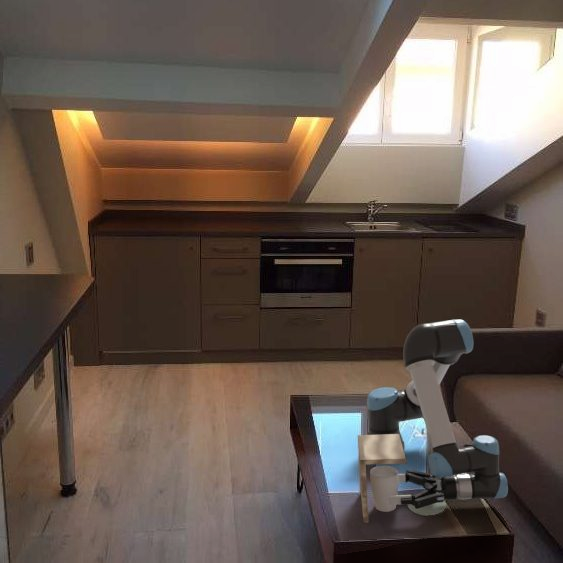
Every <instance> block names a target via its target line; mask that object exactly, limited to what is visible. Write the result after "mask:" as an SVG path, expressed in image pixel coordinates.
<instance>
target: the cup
mask: <svg viewBox="0 0 563 563" xmlns="http://www.w3.org/2000/svg"><path fill="white" fill-rule="evenodd" d="M369 474H370V476H369V478H370V479H369V483H370V487H371V493H372V496H373V502H374V506H375V509H376V510H377V511H380V512H385V513H389V512H392V511H394V510H395V509H396V508H397V505H390V502H389V495H399V494H398V493H399V484H400V483H399V477H398V474H399V471H398V469H397V468H396V467H394V466H391V465H388V464H380V465H377V466H374V467H372V468H371V469H370V471H369Z"/></svg>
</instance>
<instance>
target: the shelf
mask: <svg viewBox="0 0 563 563" xmlns="http://www.w3.org/2000/svg"><path fill="white" fill-rule="evenodd" d="M357 445H358V446H357V448H358V449H357V450H358V464H359V465H358V466H359V485H360V486H359V489H360V500H361V511H362V520H363V523H365V524H367V523H369V505H368V503H369V502H368V485H367V468H366V467H367V466H366V465H389V464H390V465H391V464H392V465H394V464H407V460H406V454H405V450H403V447H402V443H401V439H400V435H399V434H382V435H367V434H358V435H357Z"/></svg>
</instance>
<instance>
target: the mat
mask: <svg viewBox="0 0 563 563" xmlns="http://www.w3.org/2000/svg"><path fill="white" fill-rule="evenodd" d="M419 504H420V503H419ZM407 508H408V509H409V511H411V512H412V513H414V514H416V515H420V516H425V517H429V516H428V515H431V514H433V513H439V512H442V511H444V509H445V508H446V509H447V502H446V500H444V502H439V503H434V504H431V505H428V506H425V507H422V508H418V509H416V508H415V506H413V505H412V504H407ZM444 512H445V511H444Z"/></svg>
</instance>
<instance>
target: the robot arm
mask: <svg viewBox="0 0 563 563" xmlns="http://www.w3.org/2000/svg"><path fill="white" fill-rule="evenodd" d="M474 343H475V342H474V336H473V332H472V330H471V328H470V325H469V324H468V323H467V322H466V321H465V320H463V319H462V318H461V319H450V320H448V319H447V320H443V321H442V320H441V321H434V322H429V323H427V322H426V323H421V324H418V325H416V326H414V327H413V328H412V329H411V330H410V332H409V333H408V334H407V336H406V339H405V341H404V344H403V350H402V351H403V352H402V356H403V357H402V358H403V359H402V360H403V364H404V367H405V370H406V371H408V372H410V376H411V377H410V378H411V379H412V380H411V381H410V382H408V384H407V386H406V387H405V389H400V390H398V389H396V388H395V387H391V386H388V387H386V386H384V387H378V388H375V389H372V391H370V392H369V394H368V395H367V398H366V399H367V402H366V408H367V424H368V431H367V434H366V435H382V434H399V435H400V439H401V443H402V447H403V450H404V449H405V441H404V439H403V436H402V433H401V431H400V423H401V422H405V421H406V422H407V421H411V420H417V419H423V420H424V423H425V427H426V431H427V434H428V438H429V440H430V441H429V442H430V445H431V447H432V448H431V449H432V452H431V453H429V455H428V457H427V458H428V459H427V461H428V469H429V470H430V472H429V473H428V472H423V471H417V470H412V469H406V470H405V473H398V477H399V484H401V483H402V484H403V483H408V482H409V483H412V484H415V485H418V486H421V487H422V488H423V489H424V490H422V491H420V492H418V493H416V494H398V495H389V502H390V505H396V506H397V505H399V506H400V505H408V504H412V505H413V506H415V508H416V509H418V508H422V507H425V506H428V505H431V504H434V503H439V502H444V501H450V500H451V501H452V500H453V501H454V500H456V499H458V500H464V501H465V500H470V499H471V500H480V499H482V500H484V499H487V500H493V499H495V500H496V499H502V498H505V497H507V495H508V494H509V493H508V492H509V486H508V479H507V477H506V475H505V474H504V473H503V472H500V444H499V441H498V440H497V439H496V438H495V437H494V436H491V435H488V434H487V435H485V434H483V435H477V436H475V437H474V438H473V442H472V445H468V446H463V447H458V444H457V440H456V437H455V435H454V431H453V427H452V425H451V422H450V418H449V415H448V412H447V408H446V405H445V401H444V399H443V395H442V391H441V387H440V384H441V382H442V380H443V379H444V377H445V375H446V374H447V371H448V369H450V368H449V367H450V366H452V365H454V364H455V363H457V362H458V361H459V359H460V357H461V356H462V355H463V354H467V355H468V354H469V353H471V352H472V351H473V350H474V345H475V344H474ZM404 451H405V450H404ZM472 472H473V473H472ZM419 503H420V504H419Z"/></svg>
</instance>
